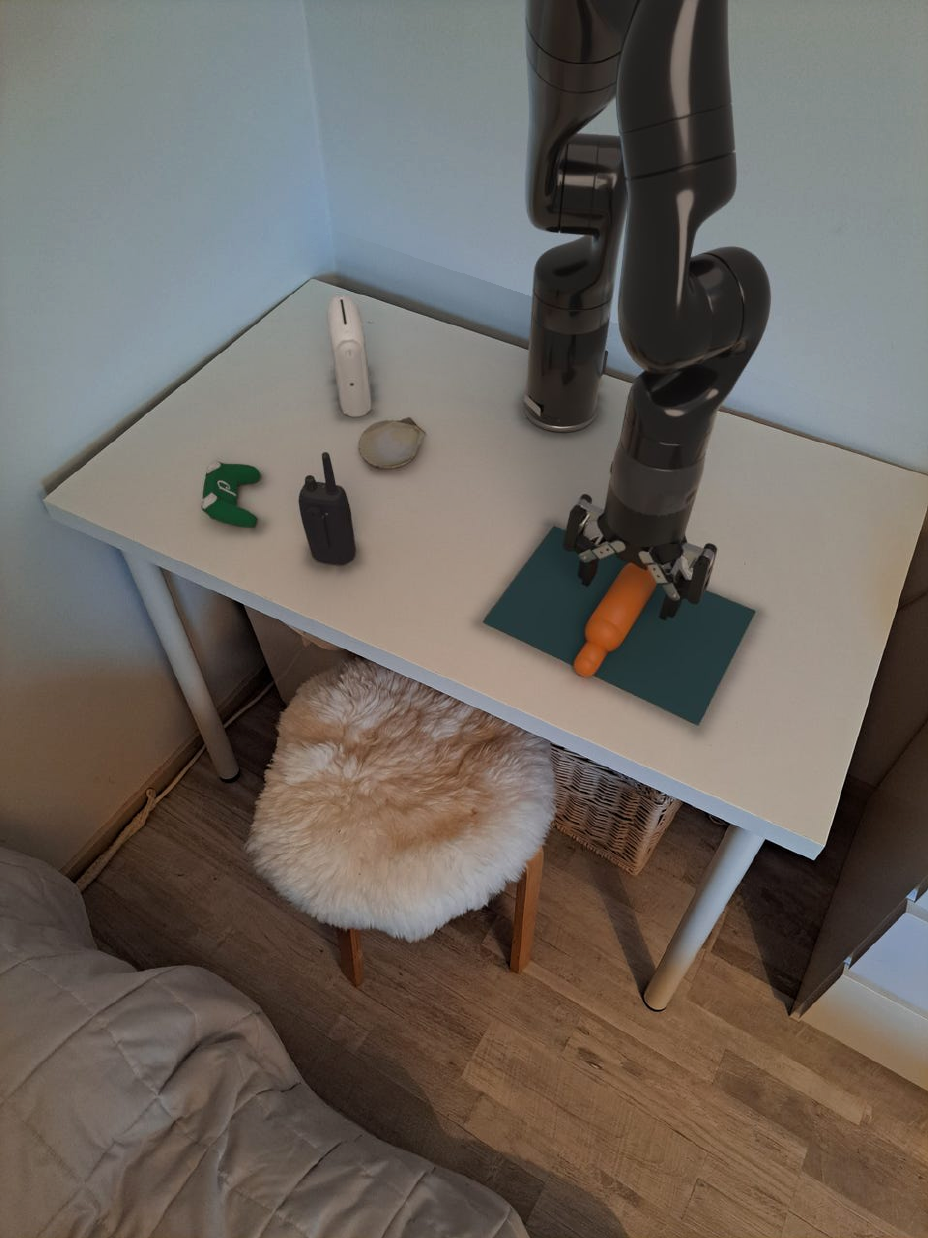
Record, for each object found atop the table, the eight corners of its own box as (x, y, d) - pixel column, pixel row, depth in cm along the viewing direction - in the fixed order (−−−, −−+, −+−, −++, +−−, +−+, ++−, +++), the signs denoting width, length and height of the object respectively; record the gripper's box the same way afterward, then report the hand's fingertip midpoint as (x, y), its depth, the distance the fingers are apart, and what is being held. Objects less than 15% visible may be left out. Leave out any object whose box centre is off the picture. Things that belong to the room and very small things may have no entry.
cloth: (553, 527, 96) (554, 525, 96) (755, 612, 88) (755, 610, 88) (483, 622, 88) (483, 621, 88) (698, 725, 80) (699, 724, 80)
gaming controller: (246, 487, 103) (202, 463, 99) (264, 469, 101) (219, 444, 97) (241, 542, 97) (194, 520, 94) (260, 524, 95) (212, 501, 92)
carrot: (630, 563, 92) (636, 539, 89) (664, 578, 91) (671, 554, 88) (561, 671, 84) (565, 648, 80) (597, 689, 82) (602, 666, 79)
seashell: (356, 457, 106) (380, 483, 100) (347, 437, 104) (371, 463, 98) (412, 426, 107) (439, 451, 102) (404, 406, 105) (431, 430, 99)
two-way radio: (361, 548, 94) (345, 446, 82) (349, 577, 92) (331, 476, 80) (315, 540, 95) (292, 438, 83) (302, 569, 92) (276, 468, 80)
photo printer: (375, 415, 108) (365, 332, 98) (341, 419, 108) (329, 336, 98) (366, 367, 114) (356, 284, 104) (335, 371, 114) (322, 287, 104)
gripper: (748, 483, 72) (706, 599, 85) (597, 427, 76) (579, 546, 89) (717, 540, 68) (678, 652, 81) (560, 478, 72) (547, 594, 85)
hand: (626, 596), depth 85 cm, fingers open, 8 cm apart
